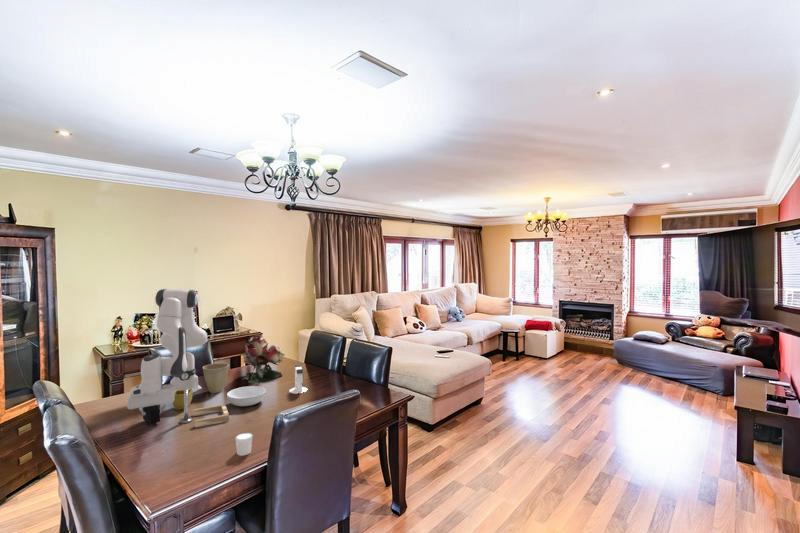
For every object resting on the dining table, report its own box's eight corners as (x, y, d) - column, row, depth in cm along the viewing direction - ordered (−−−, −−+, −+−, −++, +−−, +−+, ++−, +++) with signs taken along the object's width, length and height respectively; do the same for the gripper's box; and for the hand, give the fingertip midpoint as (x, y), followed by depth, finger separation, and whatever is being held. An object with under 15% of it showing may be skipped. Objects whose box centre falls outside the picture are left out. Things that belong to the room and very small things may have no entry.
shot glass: (254, 448, 168) (254, 432, 168) (249, 456, 161) (249, 439, 161) (239, 448, 168) (239, 432, 168) (232, 456, 161) (232, 440, 161)
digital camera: (162, 420, 194) (162, 407, 194) (150, 424, 190) (150, 410, 189) (154, 415, 200) (154, 402, 200) (143, 419, 196) (142, 405, 196)
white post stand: (309, 392, 239) (309, 368, 239) (290, 394, 235) (290, 370, 235) (306, 386, 250) (306, 363, 250) (288, 388, 246) (288, 365, 246)
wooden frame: (193, 415, 204) (193, 409, 204) (224, 409, 212) (224, 403, 212) (195, 427, 189) (195, 421, 189) (229, 420, 197) (229, 415, 197)
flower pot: (171, 411, 208) (171, 395, 208) (176, 406, 217) (176, 390, 216) (189, 410, 211) (189, 394, 210) (193, 404, 219) (193, 388, 219)
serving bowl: (252, 412, 209) (252, 399, 208) (218, 408, 213) (218, 396, 213) (272, 398, 229) (272, 387, 229) (241, 395, 233) (241, 384, 233)
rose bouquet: (288, 374, 278) (288, 333, 277) (254, 385, 253) (254, 340, 252) (265, 368, 291) (265, 329, 291) (230, 379, 266) (230, 336, 266)
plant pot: (233, 387, 248) (233, 363, 248) (220, 395, 233) (220, 369, 233) (211, 386, 250) (211, 362, 249) (197, 394, 235) (197, 368, 234)
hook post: (179, 420, 197) (179, 389, 197) (192, 417, 200) (192, 387, 200) (179, 427, 189) (179, 395, 189) (193, 424, 192) (193, 393, 192)
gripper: (175, 381, 202) (175, 407, 203) (127, 388, 192) (128, 415, 192) (175, 385, 197) (175, 411, 197) (126, 392, 186) (127, 420, 187)
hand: (151, 413), depth 195 cm, fingers closed on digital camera, 5 cm apart
